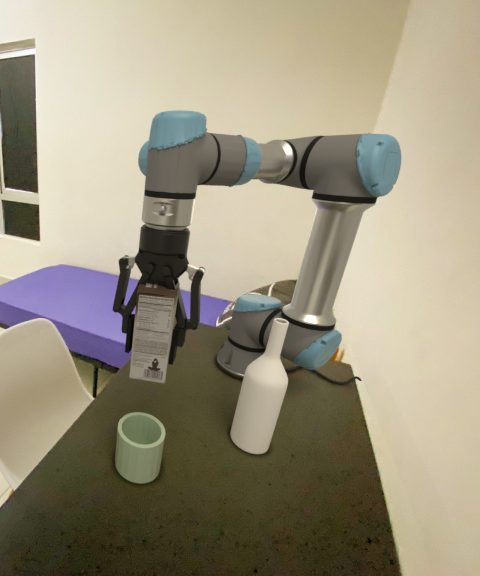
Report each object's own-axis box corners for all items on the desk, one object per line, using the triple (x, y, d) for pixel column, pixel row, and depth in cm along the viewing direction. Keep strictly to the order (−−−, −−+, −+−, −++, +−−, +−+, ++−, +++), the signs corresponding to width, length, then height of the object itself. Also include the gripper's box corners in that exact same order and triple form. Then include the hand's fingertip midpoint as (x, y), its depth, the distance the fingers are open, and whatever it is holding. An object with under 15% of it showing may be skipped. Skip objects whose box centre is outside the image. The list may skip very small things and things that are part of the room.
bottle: (261, 461, 70) (299, 335, 59) (223, 439, 75) (252, 319, 64) (273, 440, 75) (310, 321, 64) (238, 421, 80) (266, 308, 69)
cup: (164, 454, 70) (169, 420, 67) (153, 491, 62) (159, 454, 59) (123, 439, 73) (126, 406, 70) (108, 472, 65) (110, 437, 62)
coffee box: (133, 351, 65) (141, 272, 59) (166, 355, 64) (178, 276, 58) (128, 378, 56) (136, 290, 50) (166, 385, 55) (179, 295, 49)
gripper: (96, 221, 51) (90, 350, 59) (234, 238, 44) (205, 382, 52) (113, 215, 58) (105, 332, 66) (236, 229, 50) (210, 359, 59)
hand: (150, 354), depth 59 cm, fingers closed on coffee box, 7 cm apart
